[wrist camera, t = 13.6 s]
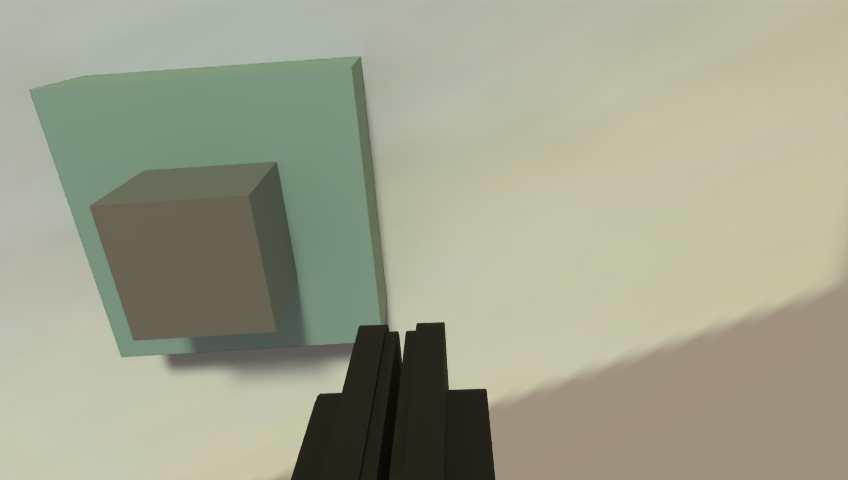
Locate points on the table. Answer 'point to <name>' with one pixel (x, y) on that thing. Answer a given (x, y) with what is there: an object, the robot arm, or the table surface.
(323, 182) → the socket
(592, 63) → the table surface
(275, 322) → the plug
